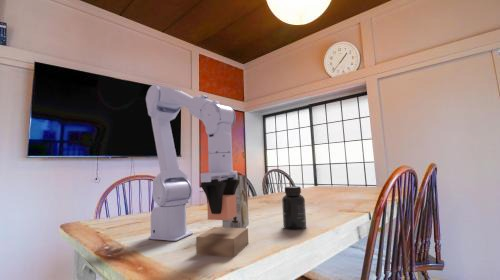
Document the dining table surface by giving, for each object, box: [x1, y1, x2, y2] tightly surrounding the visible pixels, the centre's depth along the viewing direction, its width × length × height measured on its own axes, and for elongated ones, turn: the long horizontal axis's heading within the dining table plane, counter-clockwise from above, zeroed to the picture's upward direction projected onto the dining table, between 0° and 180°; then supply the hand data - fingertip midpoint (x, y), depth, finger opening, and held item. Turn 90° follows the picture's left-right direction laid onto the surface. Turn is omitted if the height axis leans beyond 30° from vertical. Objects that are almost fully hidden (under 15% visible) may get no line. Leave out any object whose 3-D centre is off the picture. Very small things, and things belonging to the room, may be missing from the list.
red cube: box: [206, 195, 237, 221], centre depth 58 cm, size 5×5×5 cm
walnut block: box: [195, 226, 249, 258], centre depth 58 cm, size 9×9×4 cm
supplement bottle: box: [281, 185, 307, 231], centre depth 75 cm, size 7×7×12 cm
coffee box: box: [220, 174, 250, 228], centre depth 79 cm, size 9×6×16 cm
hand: (222, 211), depth 58 cm, fingers closed on red cube, 5 cm apart
